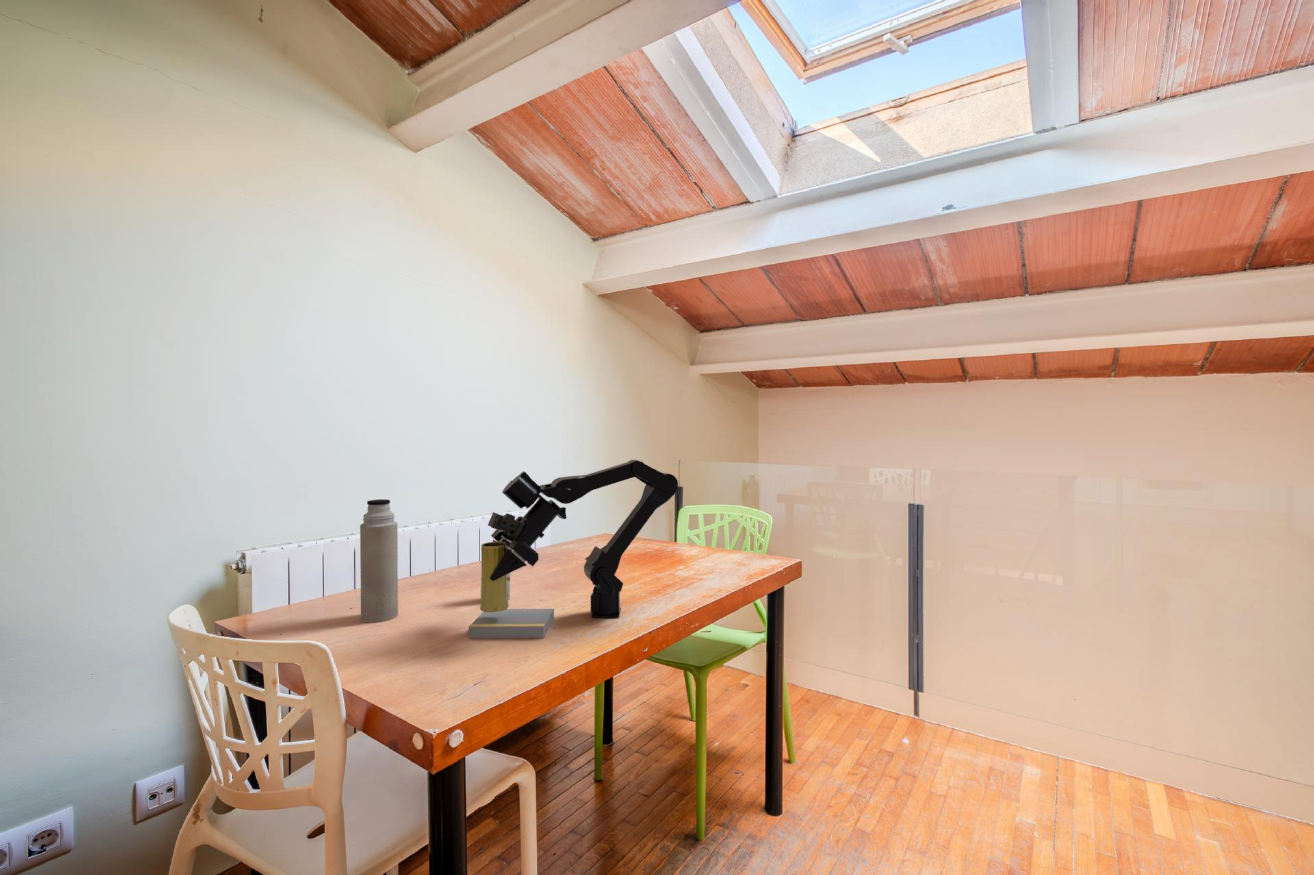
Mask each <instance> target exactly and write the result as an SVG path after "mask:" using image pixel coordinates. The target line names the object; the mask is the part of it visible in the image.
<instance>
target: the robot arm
mask: <svg viewBox="0 0 1314 875" xmlns="http://www.w3.org/2000/svg"><path fill="white" fill-rule="evenodd" d="M633 478H635V479H637V480H639V481H640V482H641V483H643V484H645V486H644V487H643V491H642V495H641V498H640V499H639V501H638V503H637V504H636V505H635V506H634V508H633V509H632V510H631V512H630V513H629V514H628V516H627V517H626V519H625V520H624V521H623V523H621V525H620V526H619V527H618V529H617V531H616V532H615V533H614V534H613V536H612V537H611V538H610V539H609V541H608V542H607V543H606V545H604V546H603V547H601V548H599V547H598V546H597V545H596V546H595V545H594V547H593V549H592V550H591V553H590V554H589V555H588V556H586V558H585V559H584V560H585V563H584V565H583V572H584V575H585V576H586V578H588V580H590V582H591V583H592V585H593V589H592V593H591V594H590V613H591V614H592V615H591V618H620V616H621V611H622V610H621V608H622V607H621V592H622V588H623V587H624V582H623V581H621V579H619V578H618V577H617V576H616V573H617V571H618V569H619V565H620V562H621V560H622V556H623V555H624V553H625V552H626V551H627V549H628V548H629V546H631V544H632V542H633V541H634V540H635V538H637V535H639V533H640V531H641V530H642V529H643V527H644V526H645V525H646V523H647V522H648V521H649V519H650V518H651V517H652V515H653V514H654V512H655V511H657V509H658V508H660V507H661V506H663V505H664V504H666V503H668V502H669V500H670V499H672V497H673V496H674V495H675V494H676V493H677V492H678V490H679V487H680V486H679V482H678V478H676V476H675V475H673V474H672V473H667V472H661V471H659V470H657V469H655V468H654V467H651V466H650V465H647V464H646V463H644V461H642V460H639V459H630V460H629V461H627V462H624V463H619V464H617V465H613V466H610V467H607V468H604V469H600V470H597V471H594V472H591V473H588V474H579V475H569V476H561V477H560V476H559V477H557V478H555V479H553V480H552V482H551V483H546V484H541V485H539V484H538V483H536V482H535V481H534V480H533V479H532V478H531V477H530V475H529V474H528V473H527V472H526V471H521V472H520V474H518V475H517V476H515V478H514V479H512V480H510V481H509V482H508V483H507V485H506V486H505V487H504V488H503V489H502V491H501V492H502V494H503V496H505V497H506V498H507V499H509V500H510V501H511V502H513V504H514V505H515V506H517V508H519V509H523V508H526V509H528V511H527V512H526V513H525V514H524V516H517V517H515V515H513V514H510V513H507V512H506V513H504V515H502V514H500V513H496V512H492V514H491V517H490V519H489V521H488V523H487V526H488V527H490V528H492V529H495V530H494V531H493V532H492V534H491V535H490V536H491V538H493V539H492V542H504V543H506V547H505V546H504V556H503V558H502V559H501V561H500V562H499V564H498V565H497V567H496V568H495V570H494V571H493V573H492V575H491V576H490V579H491V580H492V581H495V580H497V579H499V578H501V577H503V576H505V575H507V574H509V573H510V574H511V573H513V572H514V571H517V570H519V569H521V568H523V567H526V566H528V565H529V566H531V567H534V566H535V565H536V564H537V562H538V561H539V560H540V559H539V553H538V552H537V551H536V550H535V549H534V548H533V547H532V546H533V545H534V544H535V542H536V541H537V539H539V538H540V539H543V537H544V536H545V534H544V531H545V530H546V529H547V528H548V527H549V526H550V525H551V523H552V522H553V521H554V520H555V518H556V517H557V518H559V519H562V520H566V519H567V512H566V511H567V507H563V506H562V507H560V506H559V505H558V504H557V503H556V502H555V501H557V502H559V503H561V504H563V505H567V504H571V503H573V502H576V501H578V500H579V499H581V498H584V496H586V495H587V494H588V493H591V492H592V491H595V490H599V489H600V488H604V487H608V486H610V485H614V484H617V483H620V482H623V481H626V480H630V479H633ZM541 494H542V495H543V496H545V497H546V498H550V500H547V499H546V498H545V497H543V496H542V495H541ZM551 498H552V499H551ZM553 499H554V500H555V501H553ZM529 508H530V509H529Z"/></svg>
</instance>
